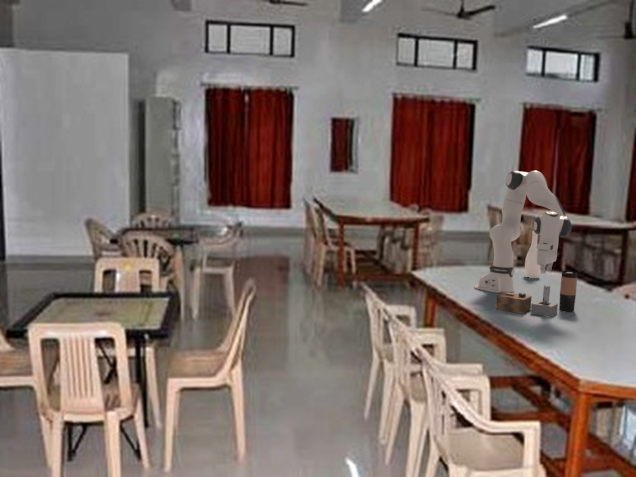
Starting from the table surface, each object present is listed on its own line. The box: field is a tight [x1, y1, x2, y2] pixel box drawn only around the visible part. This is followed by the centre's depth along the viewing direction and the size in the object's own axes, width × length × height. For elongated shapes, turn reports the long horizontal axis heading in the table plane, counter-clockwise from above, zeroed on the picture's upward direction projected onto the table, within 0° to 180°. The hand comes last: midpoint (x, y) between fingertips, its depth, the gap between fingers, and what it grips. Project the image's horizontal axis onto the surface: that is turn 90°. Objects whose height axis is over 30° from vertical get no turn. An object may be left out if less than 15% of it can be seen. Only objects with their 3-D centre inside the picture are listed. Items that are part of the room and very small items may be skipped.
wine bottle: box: [523, 230, 541, 279], centre depth 452 cm, size 10×10×30 cm
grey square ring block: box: [530, 300, 559, 318], centre depth 355 cm, size 10×10×5 cm
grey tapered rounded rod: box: [542, 285, 551, 305], centre depth 354 cm, size 3×3×14 cm
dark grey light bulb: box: [517, 292, 527, 298], centre depth 359 cm, size 4×4×8 cm
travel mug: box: [558, 270, 578, 313], centre depth 362 cm, size 8×8×20 cm
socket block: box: [495, 292, 532, 314], centre depth 361 cm, size 14×12×7 cm
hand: (545, 272), depth 352 cm, fingers open, 8 cm apart
